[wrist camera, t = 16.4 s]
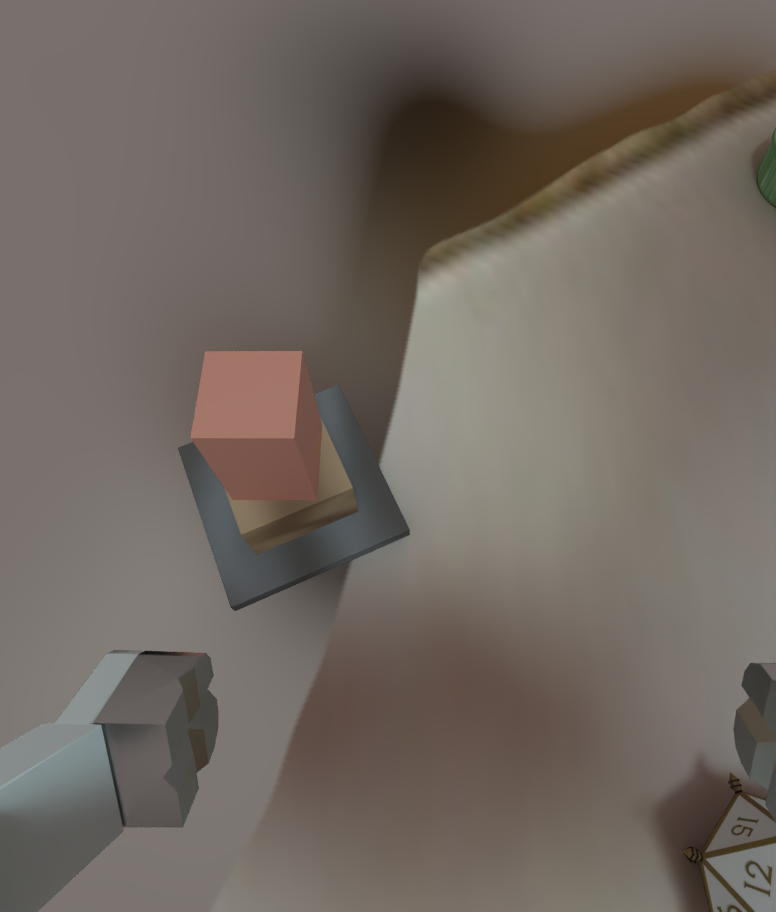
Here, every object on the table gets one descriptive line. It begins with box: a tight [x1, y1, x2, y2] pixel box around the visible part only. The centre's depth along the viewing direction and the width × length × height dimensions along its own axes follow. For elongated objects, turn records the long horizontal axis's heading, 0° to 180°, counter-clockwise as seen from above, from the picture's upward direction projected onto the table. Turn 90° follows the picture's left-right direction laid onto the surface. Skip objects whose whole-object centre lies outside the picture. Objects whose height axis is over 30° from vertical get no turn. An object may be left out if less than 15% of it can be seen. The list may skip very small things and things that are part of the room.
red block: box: [191, 351, 323, 500], centre depth 35 cm, size 5×5×8 cm
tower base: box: [178, 385, 410, 611], centre depth 41 cm, size 12×12×5 cm
